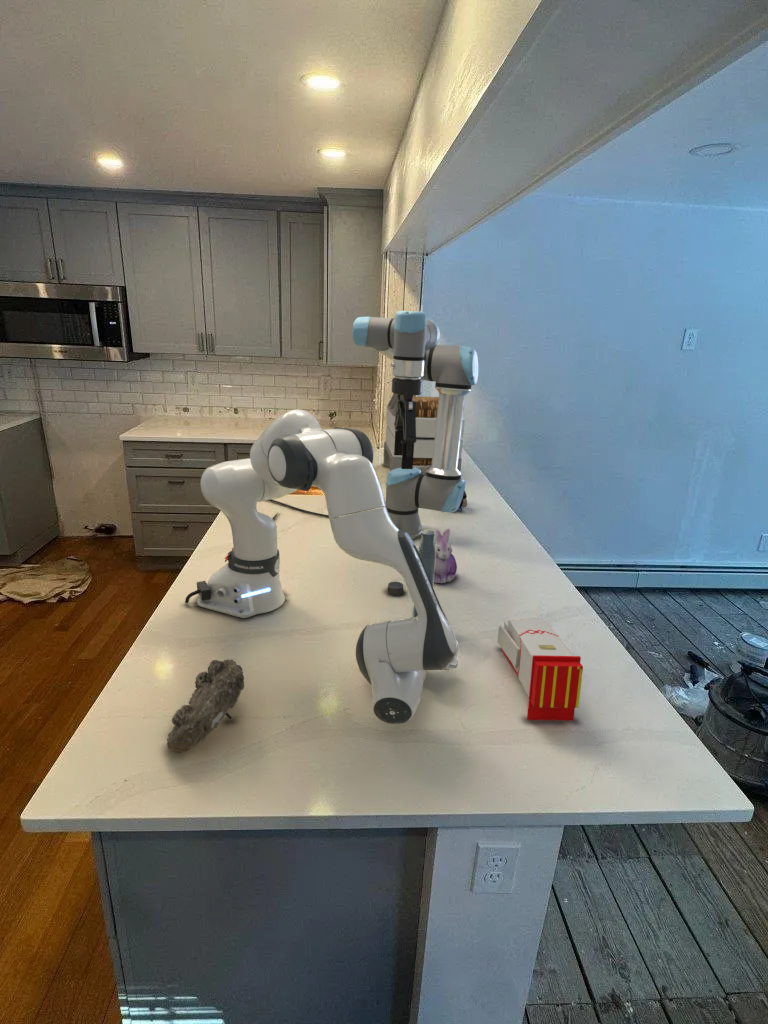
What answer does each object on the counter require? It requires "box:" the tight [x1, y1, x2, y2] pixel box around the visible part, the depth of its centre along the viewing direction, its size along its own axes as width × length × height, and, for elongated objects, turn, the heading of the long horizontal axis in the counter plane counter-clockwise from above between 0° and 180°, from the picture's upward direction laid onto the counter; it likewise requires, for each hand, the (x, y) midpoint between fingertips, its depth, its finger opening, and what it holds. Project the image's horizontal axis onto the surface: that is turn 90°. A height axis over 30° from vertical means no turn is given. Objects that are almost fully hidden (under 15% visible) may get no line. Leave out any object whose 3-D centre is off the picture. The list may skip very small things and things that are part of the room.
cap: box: [387, 581, 404, 597], centre depth 158 cm, size 4×4×2 cm
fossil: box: [166, 658, 245, 754], centre depth 106 cm, size 22×10×15 cm
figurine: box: [434, 528, 458, 584], centre depth 166 cm, size 9×10×15 cm
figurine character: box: [457, 489, 468, 512], centre depth 228 cm, size 7×8×15 cm
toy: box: [497, 618, 584, 722], centre depth 122 cm, size 12×13×30 cm
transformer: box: [383, 393, 465, 472], centre depth 268 cm, size 34×33×41 cm
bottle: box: [412, 529, 436, 618], centre depth 139 cm, size 5×5×25 cm
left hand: (415, 628), depth 129 cm, fingers open, 8 cm apart
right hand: (402, 461), depth 146 cm, fingers open, 13 cm apart
